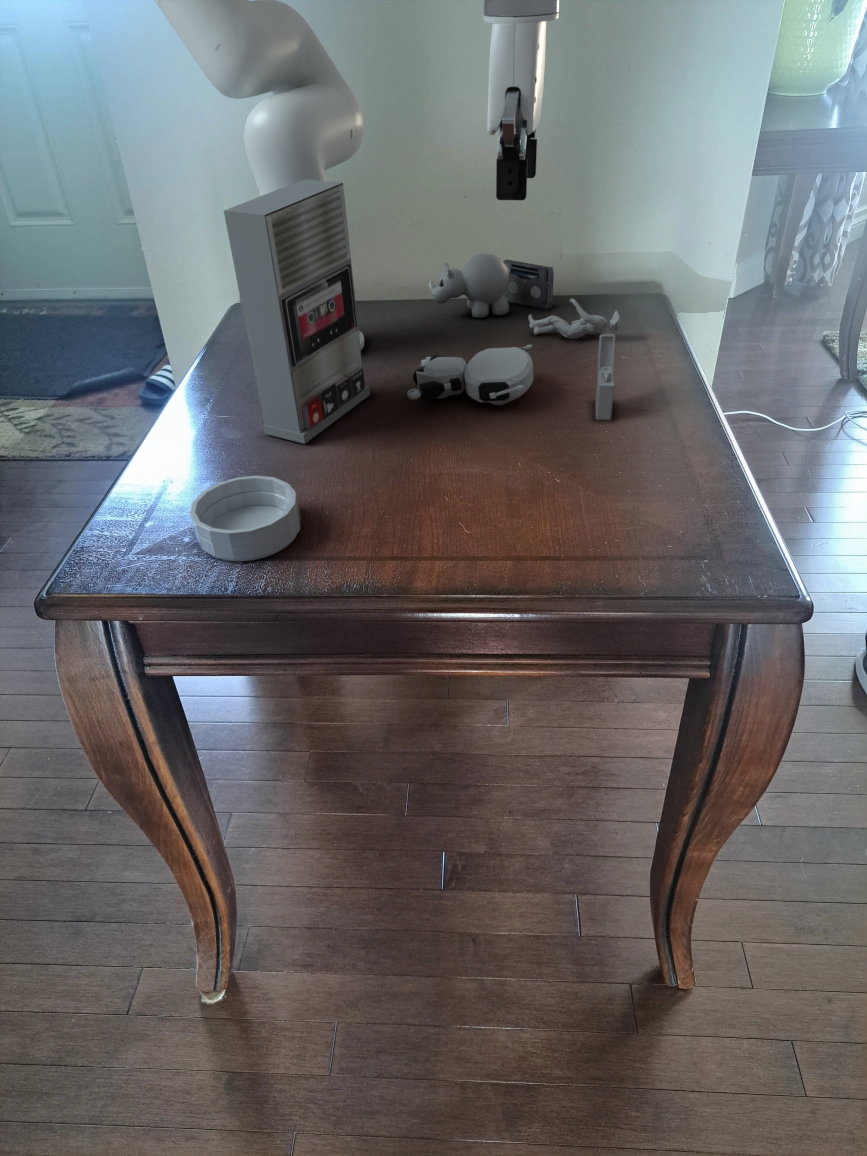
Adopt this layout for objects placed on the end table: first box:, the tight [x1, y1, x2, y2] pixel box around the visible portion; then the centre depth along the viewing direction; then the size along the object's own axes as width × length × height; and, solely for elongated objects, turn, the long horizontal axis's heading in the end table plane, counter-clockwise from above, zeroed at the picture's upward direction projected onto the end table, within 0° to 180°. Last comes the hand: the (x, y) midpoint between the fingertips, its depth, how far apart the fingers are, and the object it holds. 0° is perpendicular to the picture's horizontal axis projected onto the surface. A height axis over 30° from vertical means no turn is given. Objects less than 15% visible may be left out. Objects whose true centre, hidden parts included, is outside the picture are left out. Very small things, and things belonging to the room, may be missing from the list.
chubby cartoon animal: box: [428, 252, 510, 319], centre depth 123 cm, size 7×12×8 cm, turn 97°
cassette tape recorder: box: [223, 179, 371, 445], centre depth 93 cm, size 14×6×25 cm, turn 151°
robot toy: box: [406, 344, 535, 406], centre depth 102 cm, size 12×4×15 cm
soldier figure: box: [527, 298, 621, 340], centre depth 115 cm, size 8×5×12 cm
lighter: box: [595, 333, 616, 421], centre depth 97 cm, size 7×2×8 cm, turn 172°
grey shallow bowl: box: [189, 475, 302, 562], centre depth 81 cm, size 10×10×4 cm
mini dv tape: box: [502, 258, 555, 311], centre depth 126 cm, size 8×2×6 cm, turn 52°
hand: (516, 188), depth 93 cm, fingers open, 9 cm apart
